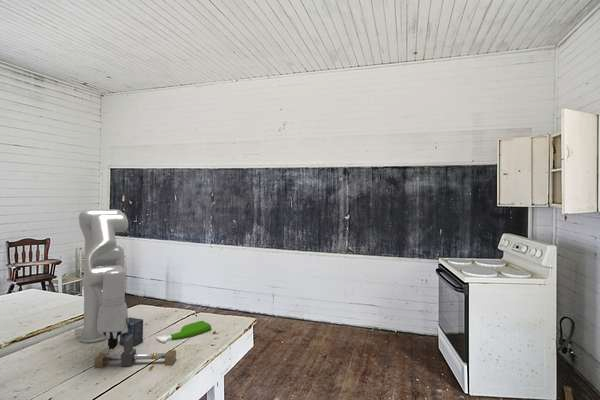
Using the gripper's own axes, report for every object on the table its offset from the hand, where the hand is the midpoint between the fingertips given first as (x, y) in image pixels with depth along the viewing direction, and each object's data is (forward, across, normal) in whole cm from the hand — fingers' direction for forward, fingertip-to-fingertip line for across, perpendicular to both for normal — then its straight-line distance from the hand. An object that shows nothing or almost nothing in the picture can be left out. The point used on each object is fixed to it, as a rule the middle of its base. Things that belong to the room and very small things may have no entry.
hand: (112, 347), depth 127 cm
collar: (+7, +6, 0) cm, 9 cm away
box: (+7, 0, +19) cm, 20 cm away
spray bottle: (+7, +21, +28) cm, 35 cm away
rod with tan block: (+7, +9, 0) cm, 11 cm away
